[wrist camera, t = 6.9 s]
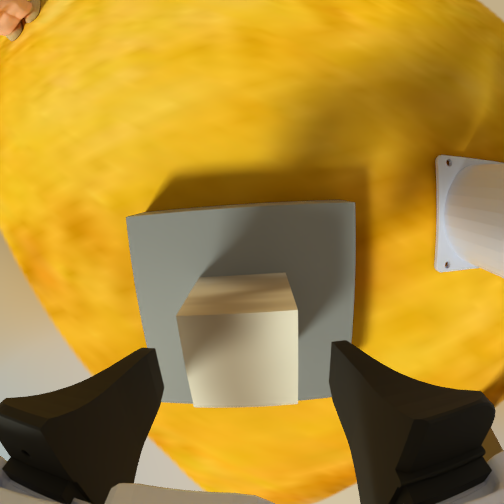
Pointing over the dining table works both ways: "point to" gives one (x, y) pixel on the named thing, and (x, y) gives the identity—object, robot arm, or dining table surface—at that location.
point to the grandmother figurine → (16, 16)
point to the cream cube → (240, 341)
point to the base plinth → (247, 263)
